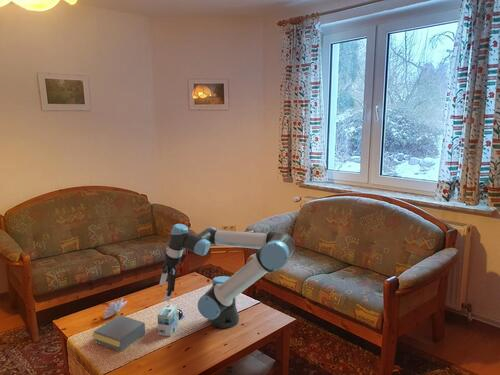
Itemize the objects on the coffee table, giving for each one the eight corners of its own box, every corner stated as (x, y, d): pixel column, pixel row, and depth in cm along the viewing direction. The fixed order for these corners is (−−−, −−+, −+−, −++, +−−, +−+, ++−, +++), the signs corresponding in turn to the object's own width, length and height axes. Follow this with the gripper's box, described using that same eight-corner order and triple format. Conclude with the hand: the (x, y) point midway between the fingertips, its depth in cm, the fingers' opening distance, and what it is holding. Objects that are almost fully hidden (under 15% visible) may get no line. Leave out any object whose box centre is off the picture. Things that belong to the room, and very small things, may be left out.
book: (145, 333, 183) (144, 322, 182) (118, 353, 169) (117, 340, 167) (120, 326, 191) (119, 315, 190) (93, 343, 176) (92, 331, 175)
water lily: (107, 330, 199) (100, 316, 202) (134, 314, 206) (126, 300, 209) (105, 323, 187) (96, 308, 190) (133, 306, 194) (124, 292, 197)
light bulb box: (170, 336, 181) (170, 316, 179) (157, 335, 182) (156, 314, 181) (179, 325, 191) (178, 305, 190) (166, 323, 193) (166, 304, 191)
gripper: (161, 241, 192) (153, 278, 198) (170, 268, 170) (160, 307, 176) (176, 243, 195) (167, 278, 201) (186, 268, 174) (176, 307, 179)
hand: (164, 292), depth 188 cm, fingers open, 13 cm apart
